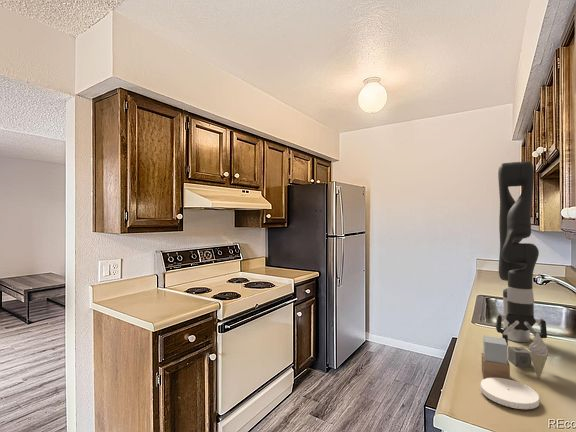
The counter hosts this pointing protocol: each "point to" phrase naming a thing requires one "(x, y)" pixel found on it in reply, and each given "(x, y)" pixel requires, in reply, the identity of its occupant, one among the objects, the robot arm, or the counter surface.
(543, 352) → the ice cream cone
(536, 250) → the robot arm
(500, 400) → the plastic lid
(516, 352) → the dice cube
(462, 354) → the counter surface
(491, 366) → the tower base
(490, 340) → the tower top
